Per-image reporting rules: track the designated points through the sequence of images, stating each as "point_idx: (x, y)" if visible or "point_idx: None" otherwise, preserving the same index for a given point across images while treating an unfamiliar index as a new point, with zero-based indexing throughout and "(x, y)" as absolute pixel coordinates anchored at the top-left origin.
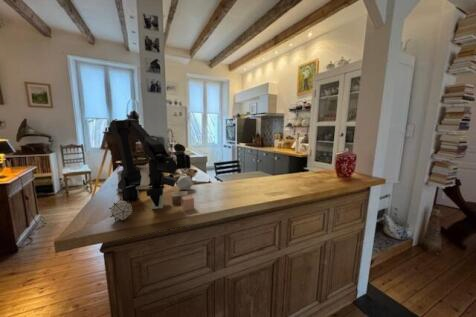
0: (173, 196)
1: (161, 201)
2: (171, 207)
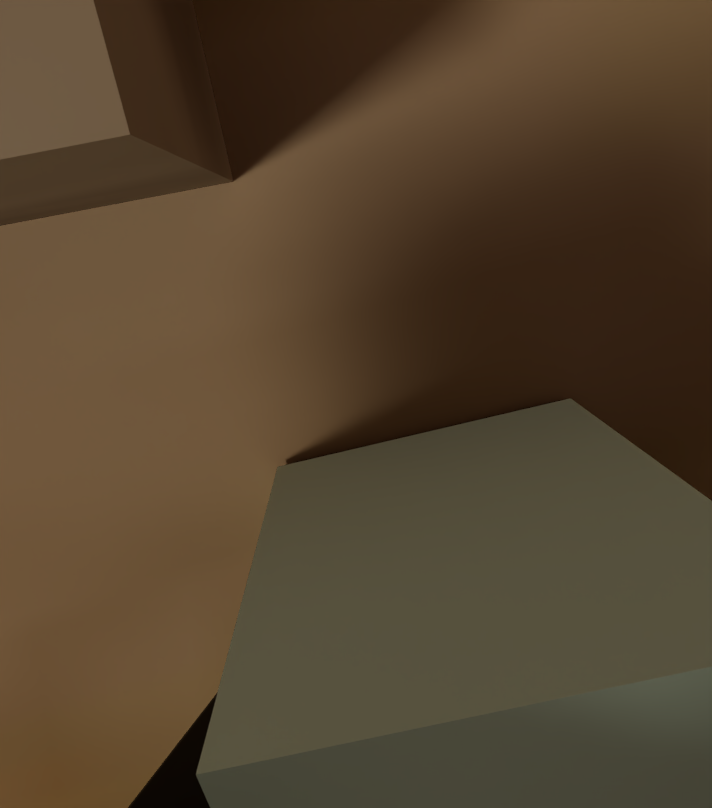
0: (96, 24)
1: (696, 526)
2: (546, 124)
